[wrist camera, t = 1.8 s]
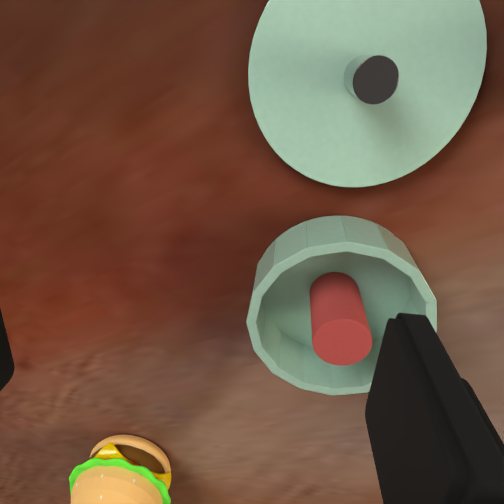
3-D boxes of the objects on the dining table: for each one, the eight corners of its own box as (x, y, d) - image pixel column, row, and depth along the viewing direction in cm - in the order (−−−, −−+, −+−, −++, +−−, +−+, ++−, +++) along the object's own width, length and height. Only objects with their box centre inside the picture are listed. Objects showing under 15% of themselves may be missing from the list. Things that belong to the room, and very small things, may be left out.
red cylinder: (356, 268, 34) (369, 315, 28) (361, 310, 36) (374, 363, 30) (306, 275, 35) (308, 322, 29) (313, 315, 37) (316, 368, 31)
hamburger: (154, 500, 54) (130, 574, 46) (73, 461, 51) (34, 532, 44) (197, 455, 48) (179, 530, 41) (109, 410, 46) (73, 480, 39)
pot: (414, 201, 32) (435, 228, 27) (419, 344, 38) (438, 387, 33) (238, 229, 34) (229, 259, 30) (270, 359, 41) (266, 400, 36)
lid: (484, -98, 23) (542, -145, 18) (476, 163, 30) (517, 187, 25) (227, -26, 26) (209, -47, 21) (271, 198, 33) (267, 227, 27)
